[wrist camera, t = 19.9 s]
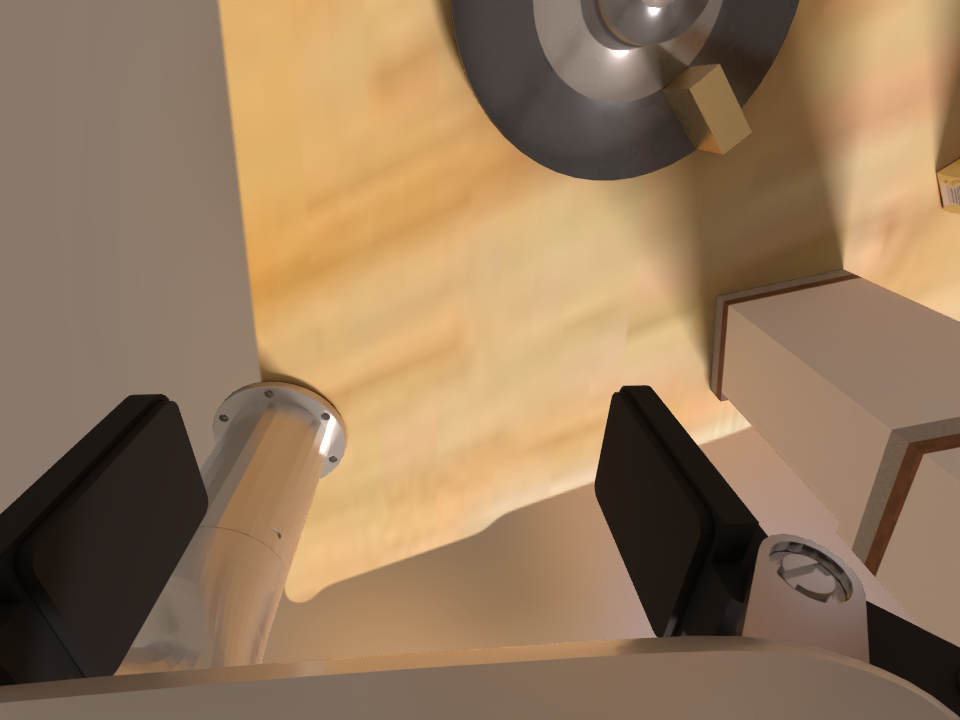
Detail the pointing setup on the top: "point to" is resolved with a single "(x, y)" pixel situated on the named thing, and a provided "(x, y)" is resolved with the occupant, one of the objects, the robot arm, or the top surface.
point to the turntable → (615, 82)
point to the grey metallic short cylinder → (639, 21)
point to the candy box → (950, 187)
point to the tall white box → (859, 421)
